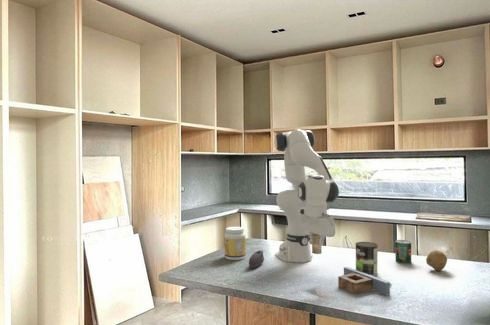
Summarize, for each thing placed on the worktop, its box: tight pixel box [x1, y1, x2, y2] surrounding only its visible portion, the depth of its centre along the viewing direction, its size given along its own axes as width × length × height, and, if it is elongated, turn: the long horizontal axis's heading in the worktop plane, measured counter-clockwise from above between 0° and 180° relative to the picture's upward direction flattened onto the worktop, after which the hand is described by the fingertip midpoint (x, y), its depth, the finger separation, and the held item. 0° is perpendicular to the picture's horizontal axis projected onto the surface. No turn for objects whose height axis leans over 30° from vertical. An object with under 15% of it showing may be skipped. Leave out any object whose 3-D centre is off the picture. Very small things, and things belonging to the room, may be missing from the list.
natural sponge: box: [425, 249, 448, 272], centre depth 173 cm, size 9×9×10 cm
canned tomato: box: [394, 239, 413, 265], centre depth 189 cm, size 8×8×11 cm
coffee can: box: [354, 241, 379, 277], centre depth 171 cm, size 10×10×14 cm
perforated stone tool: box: [248, 249, 265, 269], centre depth 184 cm, size 15×5×7 cm, turn 153°
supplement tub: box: [223, 226, 247, 261], centre depth 201 cm, size 12×12×17 cm
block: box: [337, 273, 374, 295], centre depth 151 cm, size 10×10×4 cm
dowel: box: [311, 233, 322, 255], centre depth 154 cm, size 4×4×8 cm
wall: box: [343, 266, 391, 296], centre depth 154 cm, size 24×2×5 cm, turn 29°
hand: (316, 243), depth 154 cm, fingers closed on dowel, 4 cm apart
